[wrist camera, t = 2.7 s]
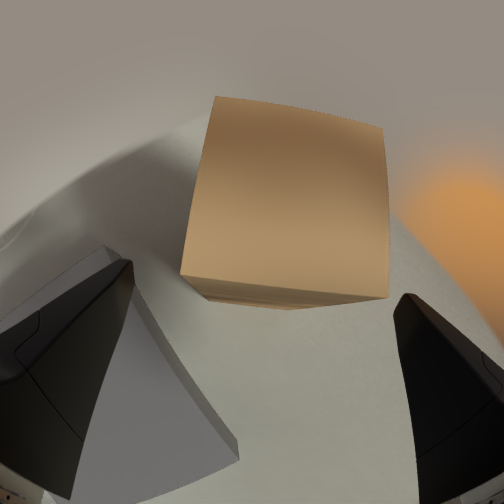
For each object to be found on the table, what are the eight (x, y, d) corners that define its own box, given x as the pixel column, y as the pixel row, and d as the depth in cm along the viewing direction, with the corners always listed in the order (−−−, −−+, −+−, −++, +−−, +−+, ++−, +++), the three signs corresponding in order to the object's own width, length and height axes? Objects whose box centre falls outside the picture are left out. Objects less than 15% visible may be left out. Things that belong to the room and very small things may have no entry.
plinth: (237, 440, 16) (239, 460, 14) (85, 501, 14) (71, 519, 11) (120, 255, 18) (103, 245, 15) (-9, 347, 16) (-33, 348, 13)
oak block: (289, 310, 19) (388, 297, 7) (208, 300, 18) (179, 274, 7) (296, 232, 20) (382, 128, 8) (219, 222, 19) (215, 96, 8)
